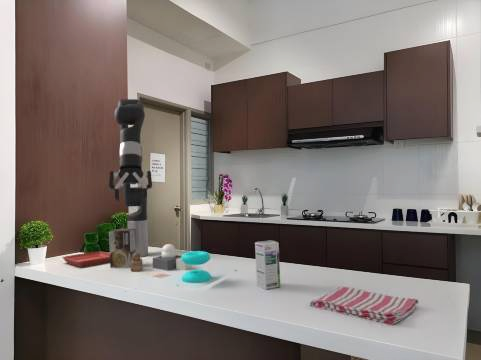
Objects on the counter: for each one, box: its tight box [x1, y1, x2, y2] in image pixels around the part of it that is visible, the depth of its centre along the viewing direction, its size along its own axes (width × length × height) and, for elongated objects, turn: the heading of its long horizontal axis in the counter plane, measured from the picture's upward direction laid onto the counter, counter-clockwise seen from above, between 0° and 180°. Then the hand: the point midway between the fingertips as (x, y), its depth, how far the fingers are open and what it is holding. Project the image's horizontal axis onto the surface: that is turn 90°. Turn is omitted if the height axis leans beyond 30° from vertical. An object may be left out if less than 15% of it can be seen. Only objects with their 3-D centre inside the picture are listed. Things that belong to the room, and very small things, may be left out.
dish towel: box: [309, 286, 419, 326], centre depth 98 cm, size 17×23×4 cm
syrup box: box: [254, 240, 281, 290], centre depth 120 cm, size 6×6×14 cm
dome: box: [161, 243, 177, 259], centre depth 148 cm, size 6×6×6 cm
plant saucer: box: [61, 251, 110, 268], centre depth 167 cm, size 18×18×3 cm
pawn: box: [130, 253, 144, 273], centre depth 143 cm, size 4×4×7 cm
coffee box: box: [108, 228, 136, 269], centre depth 152 cm, size 9×6×16 cm
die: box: [175, 258, 192, 271], centre depth 144 cm, size 4×4×4 cm
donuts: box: [181, 250, 212, 284], centre depth 128 cm, size 10×10×10 cm
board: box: [129, 254, 182, 279], centre depth 143 cm, size 20×22×5 cm
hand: (131, 200), depth 126 cm, fingers open, 8 cm apart
